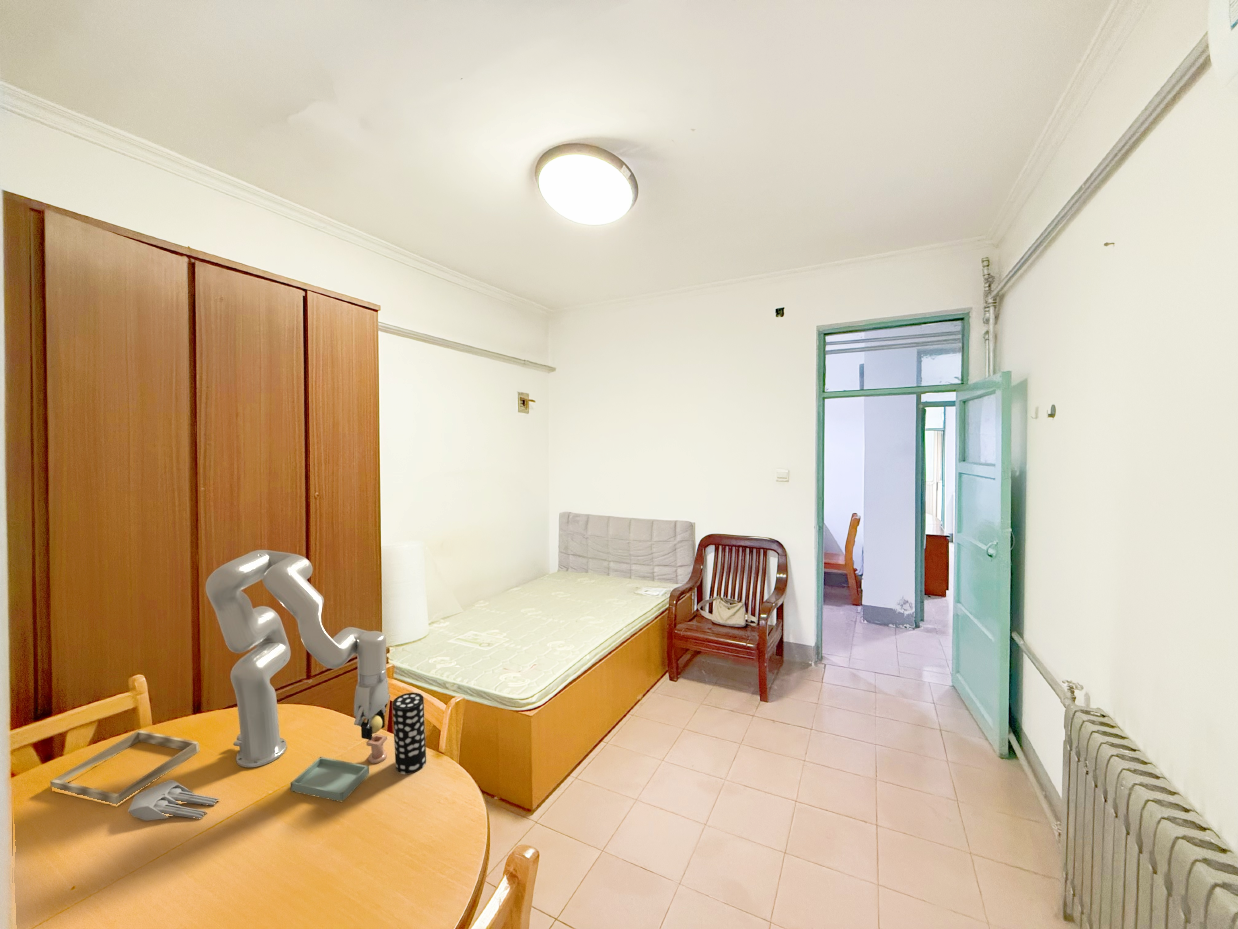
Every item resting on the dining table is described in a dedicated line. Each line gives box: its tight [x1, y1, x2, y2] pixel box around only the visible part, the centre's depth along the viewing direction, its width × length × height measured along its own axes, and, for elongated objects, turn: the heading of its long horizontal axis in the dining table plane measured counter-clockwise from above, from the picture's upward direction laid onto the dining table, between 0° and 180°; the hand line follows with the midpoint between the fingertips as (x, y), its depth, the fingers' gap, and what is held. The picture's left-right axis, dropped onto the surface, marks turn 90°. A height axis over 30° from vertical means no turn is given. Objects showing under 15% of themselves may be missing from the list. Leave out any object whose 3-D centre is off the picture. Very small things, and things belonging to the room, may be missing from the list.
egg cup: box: [365, 733, 388, 764], centre depth 165 cm, size 5×5×6 cm
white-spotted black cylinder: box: [392, 692, 427, 775], centre depth 162 cm, size 8×8×20 cm
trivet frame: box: [49, 730, 200, 805], centre depth 159 cm, size 23×23×3 cm
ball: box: [364, 715, 382, 735], centre depth 164 cm, size 5×5×5 cm
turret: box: [127, 779, 220, 821], centre depth 145 cm, size 10×20×5 cm, turn 88°
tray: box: [290, 756, 370, 802], centre depth 156 cm, size 16×11×2 cm
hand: (373, 732), depth 165 cm, fingers closed on ball, 4 cm apart
